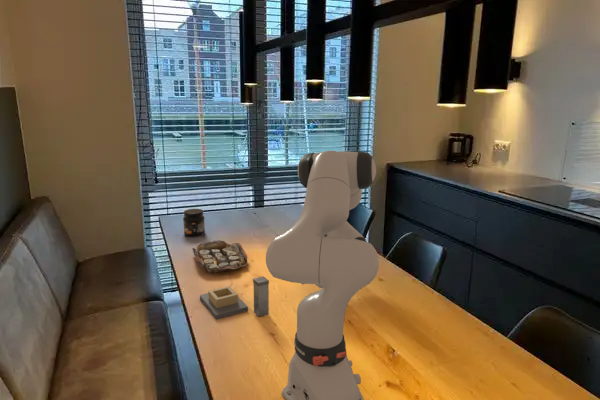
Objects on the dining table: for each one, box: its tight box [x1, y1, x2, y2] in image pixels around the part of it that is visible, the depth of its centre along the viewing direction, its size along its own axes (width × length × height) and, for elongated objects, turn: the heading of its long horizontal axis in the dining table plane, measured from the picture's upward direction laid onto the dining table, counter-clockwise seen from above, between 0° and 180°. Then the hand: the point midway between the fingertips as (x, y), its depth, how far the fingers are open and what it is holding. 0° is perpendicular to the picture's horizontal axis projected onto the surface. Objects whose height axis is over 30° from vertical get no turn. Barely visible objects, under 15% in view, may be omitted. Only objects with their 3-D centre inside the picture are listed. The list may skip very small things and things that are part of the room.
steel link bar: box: [252, 276, 270, 318], centre depth 141 cm, size 4×4×12 cm
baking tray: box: [191, 239, 249, 274], centre depth 183 cm, size 30×22×5 cm
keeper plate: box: [199, 285, 249, 320], centre depth 147 cm, size 16×11×4 cm
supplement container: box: [182, 208, 206, 238], centre depth 218 cm, size 10×10×12 cm
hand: (293, 276), depth 147 cm, fingers open, 8 cm apart
